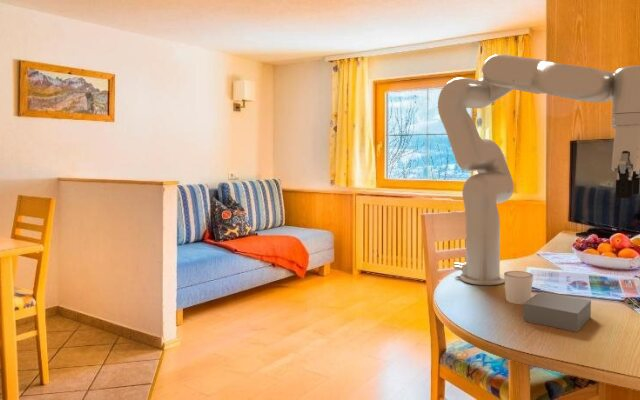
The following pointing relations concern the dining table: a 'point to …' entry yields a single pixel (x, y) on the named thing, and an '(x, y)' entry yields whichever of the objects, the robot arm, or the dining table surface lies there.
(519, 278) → the white cup
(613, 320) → the dining table surface
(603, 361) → the dining table surface
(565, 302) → the slate plinth
